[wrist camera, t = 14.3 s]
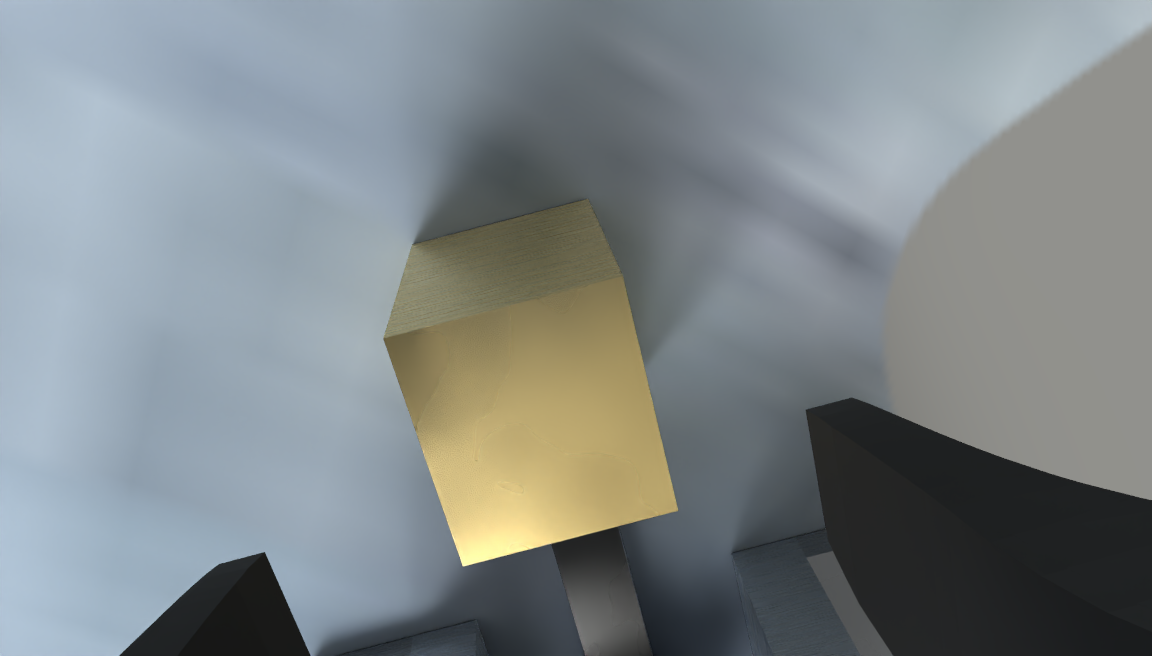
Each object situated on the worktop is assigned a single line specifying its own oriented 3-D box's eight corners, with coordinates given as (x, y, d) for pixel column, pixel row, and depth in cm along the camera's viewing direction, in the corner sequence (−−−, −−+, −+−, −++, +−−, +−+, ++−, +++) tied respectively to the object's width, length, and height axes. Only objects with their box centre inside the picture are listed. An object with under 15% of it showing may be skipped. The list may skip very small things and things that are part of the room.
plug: (718, 735, 22) (777, 930, 18) (582, 770, 23) (605, 974, 18) (587, 198, 17) (622, 276, 13) (412, 244, 17) (383, 337, 13)
